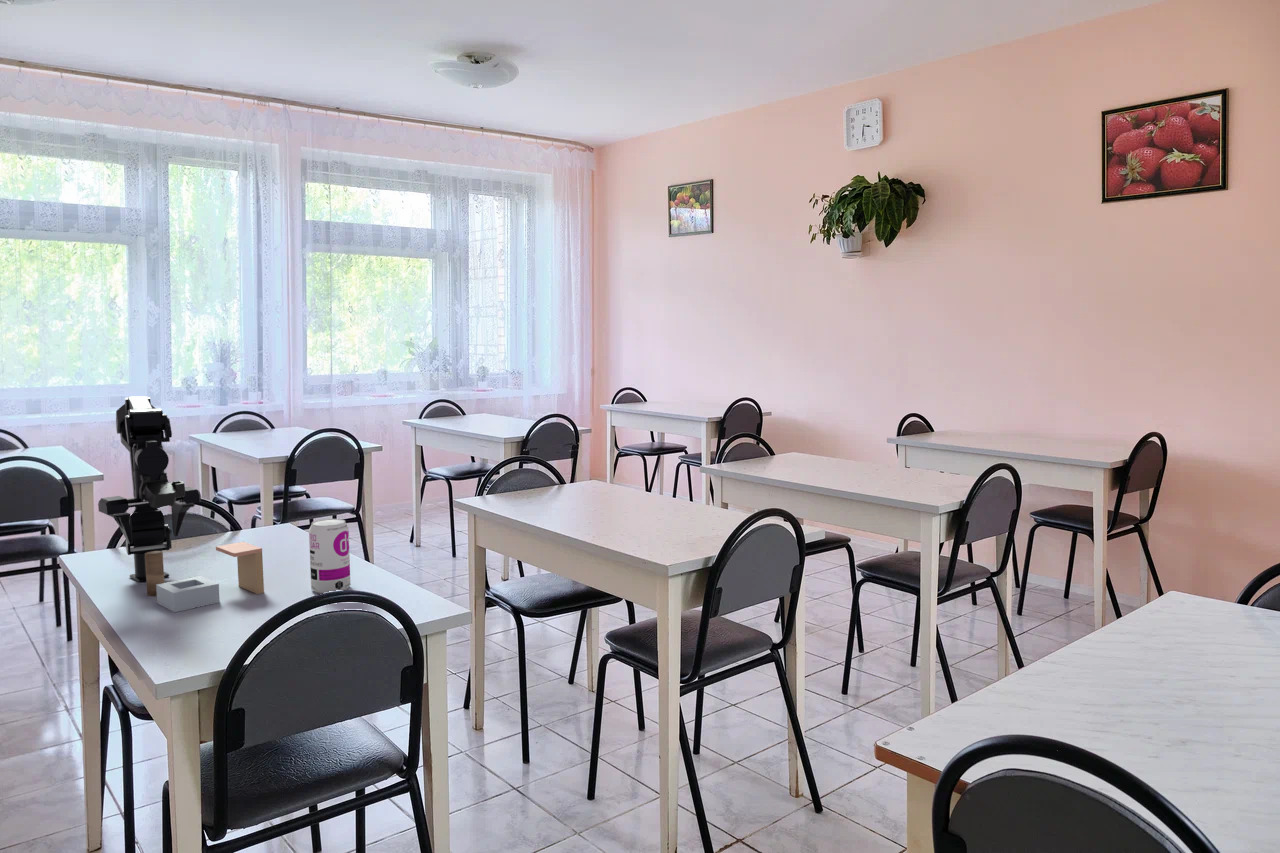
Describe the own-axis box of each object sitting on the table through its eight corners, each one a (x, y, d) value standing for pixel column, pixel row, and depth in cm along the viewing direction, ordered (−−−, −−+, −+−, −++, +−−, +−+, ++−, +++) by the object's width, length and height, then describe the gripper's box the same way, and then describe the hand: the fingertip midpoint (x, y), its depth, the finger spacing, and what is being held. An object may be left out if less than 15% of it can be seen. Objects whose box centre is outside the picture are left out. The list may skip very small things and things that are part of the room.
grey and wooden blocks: (157, 603, 189) (154, 557, 188) (245, 584, 202) (243, 541, 201) (174, 612, 183) (171, 564, 182) (264, 592, 196) (262, 548, 195)
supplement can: (358, 586, 202) (356, 519, 200) (334, 596, 194) (331, 527, 192) (327, 582, 204) (325, 517, 203) (303, 592, 196) (300, 524, 195)
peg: (144, 593, 196) (142, 553, 195) (161, 590, 198) (159, 550, 197) (150, 597, 193) (148, 555, 192) (167, 593, 196) (165, 552, 195)
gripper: (114, 478, 180) (119, 554, 182) (210, 467, 194) (213, 538, 196) (95, 471, 188) (100, 545, 190) (188, 461, 202) (192, 530, 203)
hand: (153, 539), depth 195 cm, fingers open, 9 cm apart
